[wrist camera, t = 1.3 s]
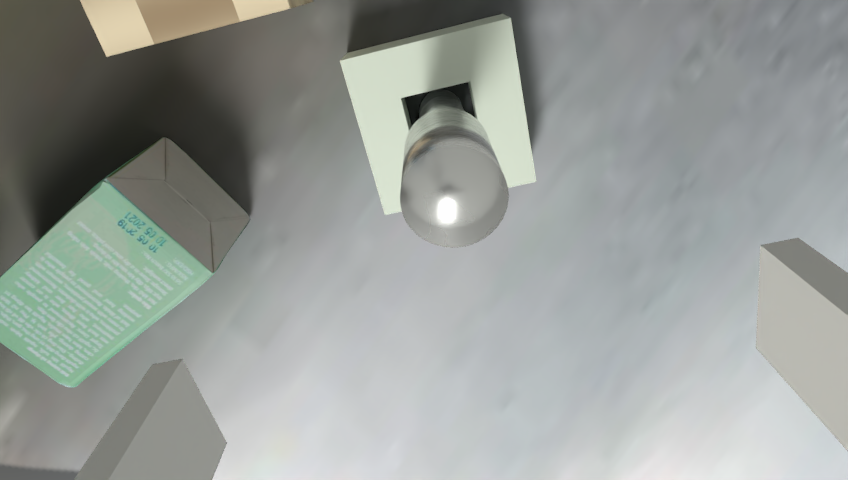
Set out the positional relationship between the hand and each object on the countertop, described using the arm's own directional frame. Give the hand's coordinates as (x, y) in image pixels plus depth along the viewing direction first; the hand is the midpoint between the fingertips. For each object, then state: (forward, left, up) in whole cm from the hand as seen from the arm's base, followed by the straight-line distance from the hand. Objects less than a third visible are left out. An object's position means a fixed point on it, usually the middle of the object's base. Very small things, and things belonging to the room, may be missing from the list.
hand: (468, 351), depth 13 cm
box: (+3, -21, -23) cm, 31 cm away
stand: (0, 0, -23) cm, 23 cm away
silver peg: (0, 0, -23) cm, 23 cm away
